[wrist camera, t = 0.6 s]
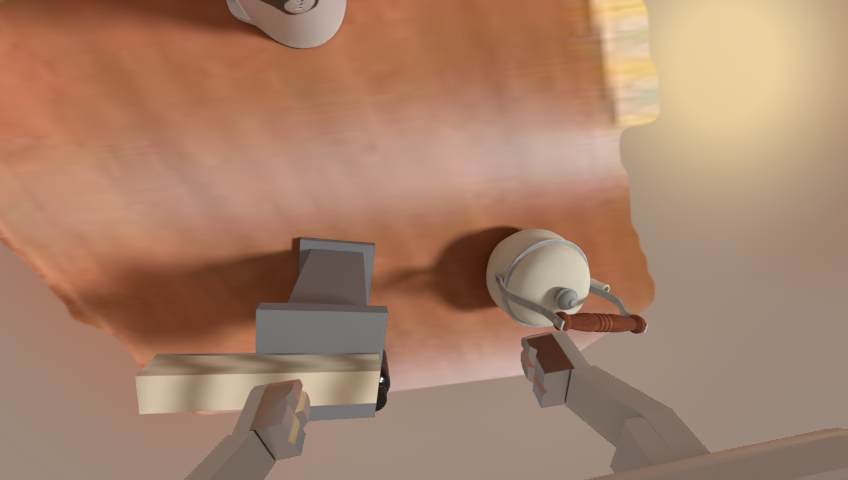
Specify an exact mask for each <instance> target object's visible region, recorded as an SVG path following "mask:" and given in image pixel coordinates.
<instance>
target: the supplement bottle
mask: <svg viewBox="0 0 848 480" xmlns="http://www.w3.org/2000/svg"><path fill="white" fill-rule="evenodd" d="M389 388H390V376H389V369H388V362H387V356H386V352H385V351H384V349H383V356H382V364H381V371H380V379H379V387H378V394H377V402H376V409H375V411H378V410H380V409H382V408H383V407H384V406H385V404H386V401H387V392H388V391H389Z"/></svg>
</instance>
